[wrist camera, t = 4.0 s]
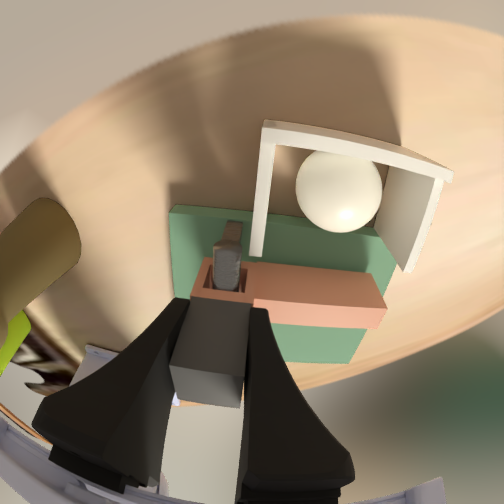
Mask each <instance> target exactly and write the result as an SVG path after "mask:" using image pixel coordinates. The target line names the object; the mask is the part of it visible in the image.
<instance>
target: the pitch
mask: <svg viewBox="0 0 504 504" xmlns="http://www.w3.org/2000/svg"><path fill="white" fill-rule="evenodd" d="M227 220H232V221H241V222H243V230H242V238H241V243H240V244H241V245H242V259H241V261H246V262H255V263H257V261H259V262H268V263H277V264H286V265H296V266H305V267H315V268H324V269H334V270H344V271H353V272H363V273H371V274H372V276H373V278H374V280H375V282H376V285H377V287H378V289H379V291H380V293H381V295H382V297H383V295H384V293H385V290H386V288H387V286H388V284H389V281H390V279H391V276H392V274H393V272H394V269H395V267H396V264H397V262H396V260H395V259H394V257H393V256H392V254H391V253H390V251H389V250H388V248H387V247H386V245H385V244H384V242H383V241H382V239H381V238H380V237H379V235H378V234H377V232H376V231H375V229H374V228H372V227H366V226H362V227H360V228H359V229H356V230H353V231H350V232H342V233H339V232H331V231H327V230H324V229H322V228H320V227H318V226H317V225H315V224H314V223H313V222H311V221H310V220H309V219H308V218H302V217H294V216H286V215H278V214H270V213H267V218H266V226H265V234H264V241H263V249H262V257H256V256H249V249H250V240H251V230H252V220H253V212H252V211H242V210H233V209H222V208H212V207H201V206H189V205H177V204H176V205H175V206H174V207H173V208H172V210H171V211H170V212H169V228H170V245H171V260H172V272H173V284H174V294H175V297H178V298H185V299H190V294H191V291H192V288H193V286H194V283H195V280H196V277H197V275H198V272H199V269H200V267H201V264H202V261H203V259H204V257H211V258H213V246H214V244H215V243H216V242H218V241H221V238H222V235H223V232H224V229H225V226H226V223H227ZM271 326H272V330H273V333H274V336H275V339H276V342H277V344H278V347H279V349H280V352H281V355H282V357H283V359H284V361H285V362H302V363H334V364H349V362H350V360H351V358H352V357H353V355H354V353H355V351H356V349H357V348H358V346H359V344H360V342H361V340H362V338H363V336H364V334H365V332H366V330H367V329H362V328H336V327H318V326H303V325H290V324H278V323H271Z"/></svg>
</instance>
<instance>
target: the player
mask: <svg viewBox="0 0 504 504" xmlns="http://www.w3.org/2000/svg"><path fill="white" fill-rule="evenodd" d="M250 307H257V308H266V309H267V310H268V312H269V318H270V323H278V324H290V325H303V326H318V327H336V328H362V329H377V328H378V327H379V325H380V323H381V321H382V319H383V317H384V315H385V313H386V311H387V306H386V304H385V302H384V300H383V297H382V295H381V293H380V291H379V289H378V287H377V285H376V282H375V280H374V278H373V276H372V274H371V273H363V272H353V271H344V270H334V269H324V268H315V267H305V266H296V265H286V264H277V263H268V262H259V261H257V263H255V262H246V261H241V270H240V282H239V292H231V291H223V290H214V289H213V258H211V257H204V259H203V261H202V264H201V267H200V269H199V272H198V275H197V277H196V280H195V283H194V286H193V288H192V291H191V294H190V305H189V308H188V311H187V314H186V317H185V320H184V322H183V324H182V327H181V330H180V333H179V336H178V339H177V342H176V345H175V348H174V351H173V354H172V357H171V361H170V364H169V367H170V371H171V375H172V380H173V384H174V388H175V391H176V395H177V399H180V400H185V401H191V402H196V403H202V404H209V405H216V406H224V407H231V408H240V403H241V397H242V390H243V383H244V375H245V364H246V354H247V343H248V327H249V316H250Z"/></svg>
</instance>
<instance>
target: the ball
mask: <svg viewBox="0 0 504 504" xmlns="http://www.w3.org/2000/svg"><path fill="white" fill-rule="evenodd" d="M296 196H297V200H298V203H299V205H300V208H301V209H302V211H303V213H304V214H305V215H306V217H307V218H308V219H309V220H310V221H311V222H313V223H314V224H315V225H317V226H318V227H320V228H322V229H324V230H327V231H331V232H339V233H342V232H350V231H353V230H356V229H359V228H360V227H362V226H364V225H365V224H366V223H368V222H369V221H370V220H371V219H372V218H373V216H374V215H375V213H376V212H377V210H378V208H379V205H380V202H381V198H382V182H381V178H380V175H379V173H378V170H377V168H376V167H375V165H374V164H373V162H372V161H369V160H364V159H360V158H355V157H350V156H345V155H340V154H335V153H330V152H324V151H318V150H316V151H315V152H313V153H312V154H311V155H310V156H308V157H307V158H306V160H305V161H304V162H303V164H302V165H301V167H300V169H299V171H298V175H297V178H296Z"/></svg>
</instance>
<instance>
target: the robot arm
mask: <svg viewBox="0 0 504 504" xmlns="http://www.w3.org/2000/svg"><path fill="white" fill-rule="evenodd" d="M189 305H190V299H185V298H178V297H175V298H174V299H173V300H172V301H171V302H170V303H169V304H168V305H167V307H166V308H165V309H164V310H163V311H162V312H161V313H160V315H159V316H158V317H157V318H156V319H155V320H154V321H153V322H152V323H151V324H150V325H149V326H148V327H147V328H146V329H145V330H144V332H143V333H142V334H140V335H139V336H138V337H137V338H136V339H135V340H134V341H133V342H132V343H131V344H130V345H129V346H128V347H127V348H125V349H124V350H123V351H122V352H121V353H116V352H112V351H109V350H105V349H102V348H98V347H95V346H92V345H88V344H87V345H86V346H85V350H86V352H87V353H86V355H85V357H84V359H83V360H82V362H81V364H80V366H79V368H78V370H77V372H76V374H75V376H74V378H73V380H72V382H71V384H70V386H69V387H67V388H65V389H63V390H61V391H58V392H56V393H54V394H51V395H49V396H47V397H44V399H43V401H42V402H41V404H40V406H39V408H38V410H37V413H36V415H35V417H34V419H33V421H32V427H33V428H34V429H35V430H36V431H37V432H38V433H39V434H40V435H42V436H43V437H44V438H45V439H47V440H48V441H49V442H51V443H52V444H53V447H52V450H51V451H50V450H48V449H46V448H45V447H43V446H41V445H40V444H38V443H36V442H35V441H33V440H31V439H30V438H28V437H27V436H25V435H24V434H22V433H21V432H19V431H18V430H16V429H15V428H14V427H12V426H11V425H9V424H8V422H7V421H5V420H4V419H3V418H2V417H1V416H0V477H1V478H2V479H3V480H4V481H5V482H6V483H7V484H8V485H9V486H10V487H12V488H13V489H14V490H15V491H16V492H17V493H18V494H19V495H21V496H22V497H23V498H24V499H25V500H26V501H28V502H29V503H30V504H203V503H197V502H191V501H185V500H181V499H176V498H172V497H168V495H169V487H168V482H167V480H166V478H165V476H164V474H163V473H162V472H161V464H162V456H163V449H164V442H165V436H166V430H167V425H168V419H169V414H170V409H171V405H175V406H179V405H180V399H177V395H176V391H175V388H174V384H173V380H172V375H171V371H170V367H169V364H170V361H171V357H172V354H173V351H174V348H175V345H176V342H177V339H178V336H179V333H180V330H181V327H182V324H183V322H184V320H185V317H186V314H187V311H188V308H189ZM354 480H355V471H354V466H353V462H352V459H351V456H350V453H349V452H348V451H347V450H346V449H345V448H344V447H343V446H342V445H341V444H340V443H339V442H338V441H337V439H336V438H335V437H334V436H333V435H332V434H331V433H330V432H329V431H328V429H327V428H326V427H325V426H324V425H323V423H322V422H321V421H320V419H319V418H318V417H317V415H316V414H315V413H314V412H313V410H312V408H311V407H310V406H309V404H308V403H307V401H306V400H305V398H304V397H303V395H302V393H301V392H300V390H299V388H298V387H297V385H296V383H295V382H294V380H293V378H292V376H291V374H290V372H289V370H288V368H287V366H286V364H285V361H284V359H283V357H282V355H281V352H280V349H279V347H278V344H277V342H276V339H275V336H274V333H273V330H272V326H271V323H270V318H269V312H268V310H267V309H266V308H257V307H250V316H249V327H248V343H247V354H246V364H245V375H244V420H243V430H242V440H241V450H240V460H239V469H238V478H237V487H236V495H235V504H338V497H340V495H341V492H340V491H341V490H340V488H341V487H343V486H345V485H347V484H349V483H351V482H353V481H354ZM348 504H446V497H445V491H444V485H443V479H442V477H438V478H435V479H433V480H430V481H427V482H424V483H421V484H419V485H416V486H414V487H411V488H409V489H407V490H405V491H402V492H399V493H395V494H391V495H387V496H383V497H379V498H375V499H370V500H365V501H360V502H354V503H348Z"/></svg>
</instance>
